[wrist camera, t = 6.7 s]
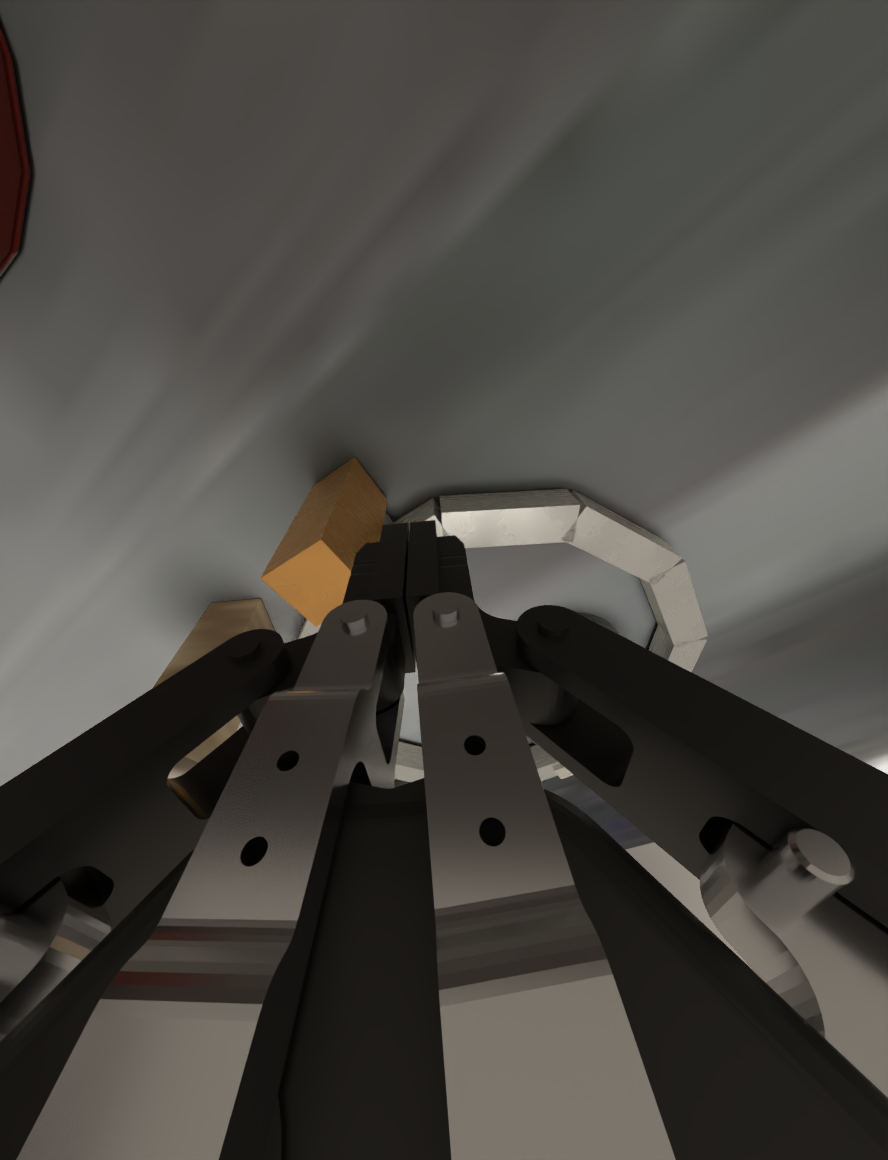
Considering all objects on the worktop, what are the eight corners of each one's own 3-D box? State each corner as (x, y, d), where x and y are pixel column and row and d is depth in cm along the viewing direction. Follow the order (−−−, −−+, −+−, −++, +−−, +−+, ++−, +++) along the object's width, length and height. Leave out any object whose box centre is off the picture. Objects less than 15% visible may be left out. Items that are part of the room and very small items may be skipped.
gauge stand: (268, 587, 23) (174, 769, 14) (291, 641, 26) (223, 823, 17) (194, 594, 23) (52, 780, 14) (223, 647, 26) (120, 833, 17)
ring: (585, 296, 15) (709, 291, 9) (714, 692, 31) (794, 796, 24) (158, 592, 22) (52, 711, 16) (437, 795, 38) (441, 897, 31)
